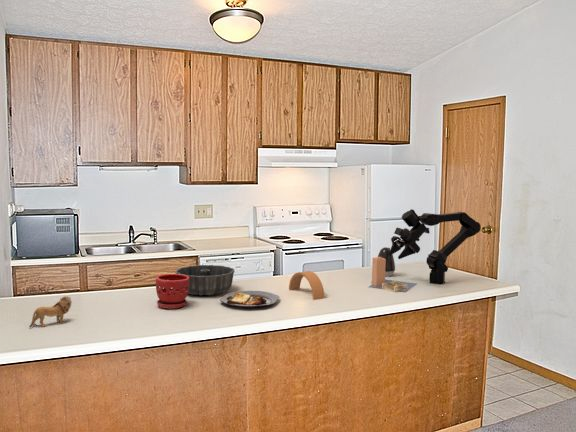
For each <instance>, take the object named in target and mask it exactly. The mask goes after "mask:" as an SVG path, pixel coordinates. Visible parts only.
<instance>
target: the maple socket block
mask: <svg viewBox="0 0 576 432" xmlns="http://www.w3.org/2000/svg"><path fill="white" fill-rule="evenodd" d="M395 281H396V280H394V282H388V283H382V289H381V290H384V289H385V290H384V291H390V292H392V293H398V292H399V291H404V290H407V287H408V285H406V284H403V283H399V282H395ZM399 293H400V292H399Z"/></svg>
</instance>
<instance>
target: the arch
mask: <svg viewBox="0 0 576 432" xmlns="http://www.w3.org/2000/svg"><path fill="white" fill-rule="evenodd" d="M303 278H305V279H306V280H307V281H308V283H309V286H310V288H311V293H312V300H313V301H315V300H321V299H325V290H324V286H323V283H322V281H321V279H320V277H319V276H318V275H317V273H315V272H314V271H311V270H310V271H309V270H308V271H299V272H295V273H294V274H293V275H292V276H291V278H290V280H289V284H288V291H294V290H300V289H301V282H302V279H303Z"/></svg>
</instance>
